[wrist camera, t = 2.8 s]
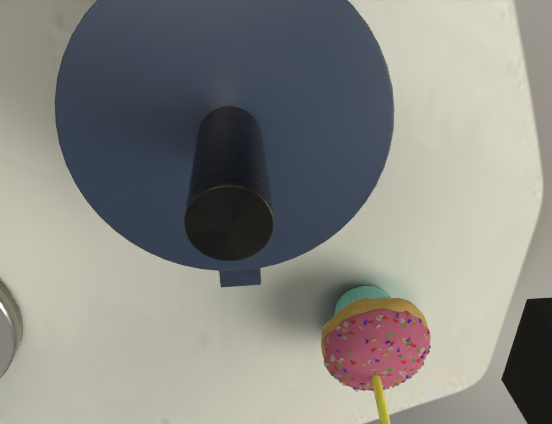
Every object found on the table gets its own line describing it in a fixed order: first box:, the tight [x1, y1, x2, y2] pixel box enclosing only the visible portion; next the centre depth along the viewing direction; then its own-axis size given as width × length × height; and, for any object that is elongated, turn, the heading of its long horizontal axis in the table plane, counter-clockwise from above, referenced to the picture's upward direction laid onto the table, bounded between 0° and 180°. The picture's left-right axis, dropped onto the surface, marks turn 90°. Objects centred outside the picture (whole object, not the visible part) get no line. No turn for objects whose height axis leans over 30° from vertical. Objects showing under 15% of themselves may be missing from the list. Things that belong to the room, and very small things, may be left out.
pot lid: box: [55, 0, 394, 271], centre depth 20 cm, size 16×16×9 cm
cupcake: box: [321, 286, 431, 424], centre depth 37 cm, size 9×8×12 cm
